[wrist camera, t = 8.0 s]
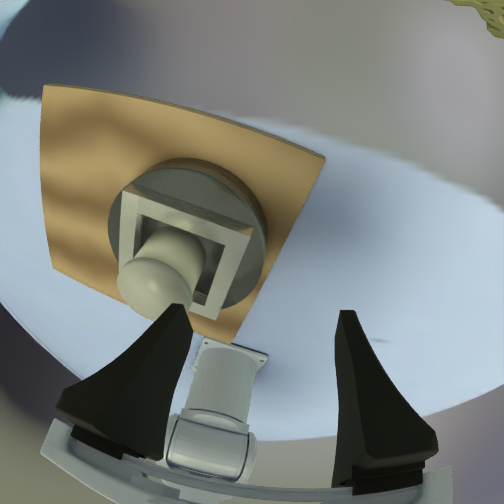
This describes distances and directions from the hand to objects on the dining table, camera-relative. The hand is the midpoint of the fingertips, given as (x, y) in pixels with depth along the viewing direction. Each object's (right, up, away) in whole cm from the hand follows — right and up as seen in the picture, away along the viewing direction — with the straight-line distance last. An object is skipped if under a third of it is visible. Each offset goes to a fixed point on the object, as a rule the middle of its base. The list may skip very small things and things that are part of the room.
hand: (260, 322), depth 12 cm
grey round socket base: (-5, +5, +9) cm, 12 cm away
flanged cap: (-6, +3, +7) cm, 9 cm away
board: (-10, +6, +11) cm, 16 cm away
